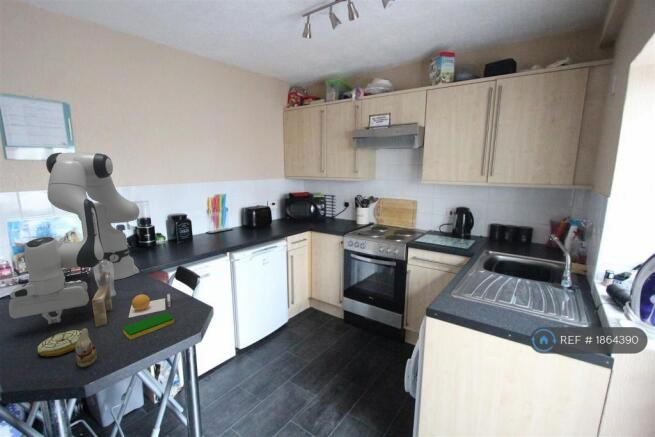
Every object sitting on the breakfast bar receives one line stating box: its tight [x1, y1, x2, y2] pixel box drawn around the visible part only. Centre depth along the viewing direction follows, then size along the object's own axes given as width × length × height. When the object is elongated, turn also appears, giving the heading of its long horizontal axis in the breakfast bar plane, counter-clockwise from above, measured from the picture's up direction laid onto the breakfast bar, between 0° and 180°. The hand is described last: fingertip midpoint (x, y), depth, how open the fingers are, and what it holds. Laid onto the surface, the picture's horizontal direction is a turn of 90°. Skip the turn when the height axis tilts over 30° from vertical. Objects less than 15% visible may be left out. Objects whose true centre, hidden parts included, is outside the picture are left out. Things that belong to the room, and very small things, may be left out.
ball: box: [131, 294, 151, 310], centre depth 115 cm, size 6×6×6 cm
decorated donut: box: [37, 329, 82, 357], centre depth 91 cm, size 10×11×4 cm
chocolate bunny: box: [74, 327, 98, 368], centre depth 84 cm, size 6×8×10 cm
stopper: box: [166, 293, 172, 308], centre depth 121 cm, size 8×1×2 cm, turn 29°
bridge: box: [91, 285, 113, 327], centre depth 110 cm, size 3×15×10 cm, turn 29°
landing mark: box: [128, 298, 166, 319], centre depth 117 cm, size 12×12×1 cm
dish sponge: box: [122, 312, 175, 340], centre depth 102 cm, size 7×14×2 cm, turn 139°
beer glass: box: [93, 261, 117, 298], centre depth 128 cm, size 7×7×15 cm
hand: (54, 322), depth 104 cm, fingers closed
